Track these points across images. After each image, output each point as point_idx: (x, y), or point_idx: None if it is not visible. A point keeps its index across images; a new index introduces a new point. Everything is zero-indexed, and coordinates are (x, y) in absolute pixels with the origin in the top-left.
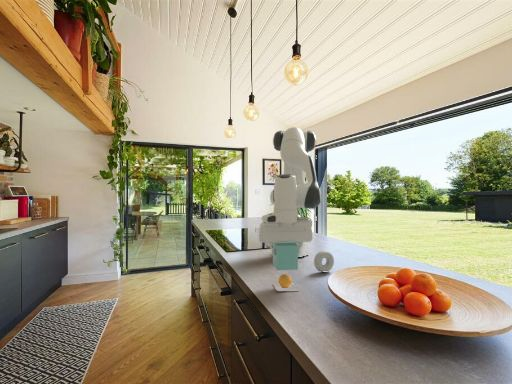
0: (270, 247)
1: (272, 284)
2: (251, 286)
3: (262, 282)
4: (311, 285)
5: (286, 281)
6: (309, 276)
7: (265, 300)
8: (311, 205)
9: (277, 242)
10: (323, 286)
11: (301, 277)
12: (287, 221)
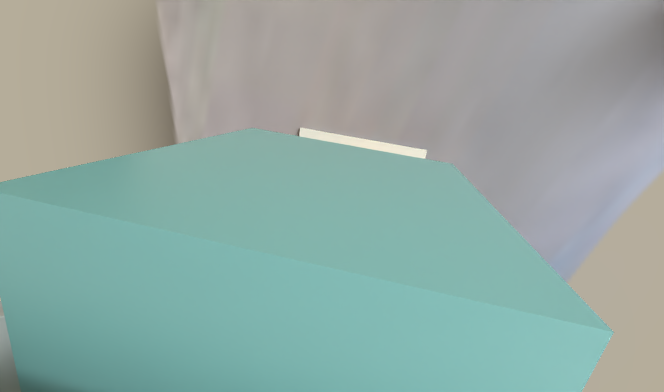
0: (10, 378)
1: (302, 120)
2: (181, 118)
3: (254, 67)
4: (530, 207)
5: None
6: (658, 20)
7: None
8: None
9: (77, 347)
10: (595, 245)
11: (572, 30)
12: None
